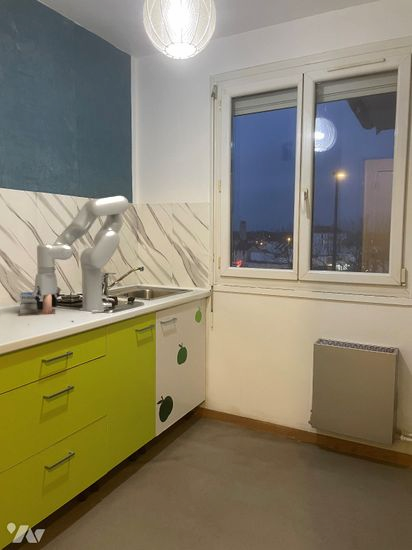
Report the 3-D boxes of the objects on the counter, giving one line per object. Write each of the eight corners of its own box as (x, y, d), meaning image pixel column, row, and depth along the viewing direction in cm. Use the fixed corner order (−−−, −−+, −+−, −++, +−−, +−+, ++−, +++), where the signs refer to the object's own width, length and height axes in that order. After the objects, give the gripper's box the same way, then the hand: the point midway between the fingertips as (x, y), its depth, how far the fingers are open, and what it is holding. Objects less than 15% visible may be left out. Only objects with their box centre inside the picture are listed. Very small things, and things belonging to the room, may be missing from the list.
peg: (52, 312, 195) (51, 291, 194) (51, 313, 191) (51, 292, 190) (42, 312, 194) (42, 291, 193) (42, 314, 190) (42, 292, 189)
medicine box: (20, 310, 207) (20, 293, 206) (21, 308, 211) (20, 291, 210) (37, 309, 209) (37, 292, 209) (37, 307, 214) (37, 291, 213)
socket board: (55, 311, 204) (55, 300, 204) (55, 316, 191) (55, 305, 191) (20, 313, 199) (19, 302, 198) (17, 318, 186) (17, 307, 185)
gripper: (54, 269, 200) (55, 304, 202) (25, 271, 184) (26, 310, 186) (66, 270, 197) (66, 306, 199) (37, 272, 181) (38, 311, 183)
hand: (47, 307), depth 192 cm, fingers open, 7 cm apart
